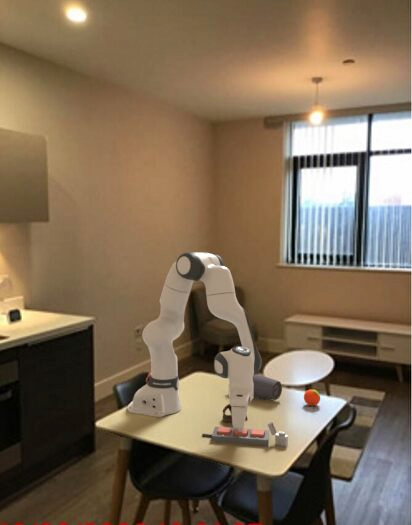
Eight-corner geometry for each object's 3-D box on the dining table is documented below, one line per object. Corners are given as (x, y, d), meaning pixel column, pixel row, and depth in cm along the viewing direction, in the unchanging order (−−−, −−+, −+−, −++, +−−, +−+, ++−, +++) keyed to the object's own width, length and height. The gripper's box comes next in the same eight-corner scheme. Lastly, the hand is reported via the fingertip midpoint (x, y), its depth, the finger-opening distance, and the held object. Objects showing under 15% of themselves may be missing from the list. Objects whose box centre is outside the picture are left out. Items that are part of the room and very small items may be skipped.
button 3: (250, 441, 173) (251, 433, 172) (251, 437, 176) (251, 429, 176) (263, 442, 172) (263, 434, 172) (263, 438, 176) (264, 430, 175)
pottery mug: (252, 425, 190) (244, 410, 186) (230, 437, 189) (222, 422, 186) (243, 407, 201) (236, 392, 197) (223, 417, 200) (215, 403, 197)
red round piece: (325, 406, 208) (325, 390, 207) (314, 410, 204) (315, 394, 203) (310, 401, 214) (311, 385, 214) (300, 404, 210) (300, 388, 210)
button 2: (234, 440, 174) (234, 432, 173) (235, 436, 177) (235, 428, 177) (246, 441, 173) (246, 433, 173) (247, 437, 176) (247, 429, 176)
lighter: (287, 447, 171) (288, 425, 170) (286, 449, 169) (286, 426, 169) (268, 442, 174) (269, 421, 173) (267, 444, 173) (267, 422, 172)
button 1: (217, 439, 175) (217, 431, 174) (218, 434, 178) (218, 427, 178) (229, 440, 174) (229, 432, 174) (230, 435, 177) (230, 427, 177)
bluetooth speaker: (229, 393, 224) (229, 372, 223) (241, 388, 231) (241, 367, 230) (271, 405, 209) (271, 383, 208) (282, 399, 216) (282, 377, 215)
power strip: (200, 443, 173) (200, 434, 173) (204, 433, 181) (204, 425, 181) (268, 448, 170) (268, 439, 169) (269, 438, 177) (269, 429, 177)
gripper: (235, 382, 184) (234, 418, 186) (229, 402, 164) (228, 442, 165) (251, 383, 183) (251, 419, 184) (247, 403, 163) (247, 443, 164)
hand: (240, 430), depth 175 cm, fingers closed
